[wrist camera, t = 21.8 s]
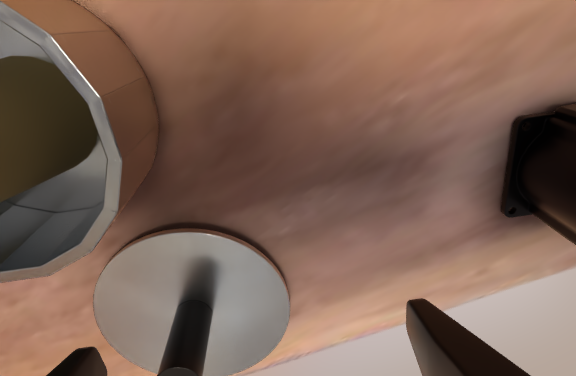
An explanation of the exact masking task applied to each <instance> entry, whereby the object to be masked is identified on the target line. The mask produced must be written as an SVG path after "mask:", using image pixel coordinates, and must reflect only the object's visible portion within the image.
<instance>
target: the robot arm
mask: <svg viewBox="0 0 576 376" xmlns="http://www.w3.org/2000/svg"><path fill="white" fill-rule="evenodd" d="M524 123H526V125H525V127H524V128H522V125H523V124H524ZM510 208H512V209H511V210H510V211H509V209H510ZM501 212H502V213H503V214H504V215H505V216H507V217H518V216H525V215H532V214H533V215H534V216H536V217H537V218H539V219H540V220H541V221H543V222H544V223H546V224H547V225H548V226H550V227H551V228H553V229H554V230H555V231H557V232H558V233H560V234H561V235H562V236H564V237H565V238H567V239H568V240H569V241H571V242H572V243H574V244H575V245H576V104H572V105H565V106H560V107H558V108H557V109H555V112H548V113H541V114H534V115H527V116H522V117H519V118H518V119H516V121H515V122H514V125H513V130H512V137H511V144H510V150H509V157H508V164H507V171H506V177H505V184H504V191H503V198H502V204H501ZM406 327H407V332H408V336H409V339H410V341H411V344H412V347H413V350H414V353H415V356H416V359H417V362H418V365H419V367H420V370H421V373H422V376H530V375H529V374H528V373H526V372H525V371H524V370H522V369H521V368H519V367H518V366H516V365H515V364H514V363H513V362H511V361H510V360H508V359H507V358H506V357H504V356H503V355H502V354H500V353H499V352H497V351H496V350H495V349H493V348H492V347H491V346H489V345H488V344H486V343H485V342H484V341H482V340H481V339H479V338H478V337H477V336H475V335H474V334H473V333H471V332H470V331H468V330H467V329H466V328H464V327H463V326H461V325H460V324H459V323H458V322H456V321H455V320H453V319H452V318H451V317H449V316H448V315H446V314H445V313H444V312H442V311H441V310H440V309H438V308H437V307H435V306H434V305H433V304H431V303H430V302H429V301H427V300H426V299H423V298H421V299H414V300H409V301H408V302H407V307H406ZM46 376H107V369H106V366H105V364H104V362H103V360H102V358H101V356H100V354H99V352H98V350H97V349H96V348H95V347H85V348H79V349H76V350H75V351H73V352H72V353H71V354H70V355H69V356H68V357H67V358H65V359H64V360H63V361H62V362H61V363H60V364H59V365H58V366H57V367H55V368H54V369H53V370H52V371H51V372H50V373H49V374H48V375H46Z"/></svg>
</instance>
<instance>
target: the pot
mask: <svg viewBox="0 0 576 376" xmlns="http://www.w3.org/2000/svg"><path fill="white" fill-rule="evenodd" d="M8 56H32V57H35V58H38V59H41V60H44V61H46V62H49V63H52V64H54V65H56V67H57V68H58V69H59V70H60V71H61V73H62V74H63V75H64V76H65V78H66V79H67V80H68V81H69V82H70V84H71V85H72V86H73V87H74V88H75V90H76V91H77V92H78V93H79V94H80V96H81V97H82V98H83V99H84V101H85V102H86V103H87V105H88V108H89V111H90V114H91V116H92V119H93V122H94V125H95V127H96V130H97V133H98V135H97V141H96V145H95V147H94V148H93V150H92V152H91V153H90V155H89V156H88V158H87V159H85V160H84V161H83V162H81V163H80V164H78V165H77V166H76V167H74V168H72V169H70V170H68V171H66V172H63V173H61V174H59V175H57V176H55V177H53V178H51V179H49V180H47V181H44V182H42V183H40V184H38V185H36V186H34V187H32V188H30V189H28V190H25V191H23V192H21V193H19V194H17V195H15V196H13V197H11V198H9V199H6V200H4V201H2V202H0V283H3V282H10V281H17V280H24V279H31V278H38V277H45V276H50V275H52V274H54V273H55V272H57V271H59V270H61V269H62V268H64V267H66V266H68V265H69V264H71V263H73V262H75V261H77V260H78V259H80V258H82V257H84V256H85V255H87V254H89V253H91V252H92V251H93V249H94V248H95V247H96V245H97V244H98V243H99V241H100V240H101V239H102V237H103V236H104V234H105V233H106V232H107V230H108V229H109V228H110V226H111V225H112V224H113V222H114V221H115V219H116V218H117V217H118V215H119V214H120V213H121V211H122V210H123V208H124V207H125V206H126V204H127V203H128V202H129V200H130V199H131V198H132V196H133V195H134V193H135V192H136V190H137V189H138V187H139V186H140V184H141V183H142V181H143V180H144V178H145V177H146V175H147V174H148V172H149V171H150V169H151V168H152V165H153V162H154V158H155V155H156V150H157V145H158V136H159V123H158V112H157V108H156V103H155V98H154V96H153V93H152V90H151V87H150V84H149V82H148V80H147V78H146V76H145V74H144V72H143V70H142V68H141V66H140V65H139V63H138V61H137V60H136V58H135V57H134V55H133V54H132V52H131V51H130V50H129V49H128V47H127V46H126V45H125V44H124V42H123V41H122V40H121V39H120V38H119V37H118V36H117V35H116V34H115V33H114V32H113V31H112V30H111V29H110V28H109V27H108V26H107V25H106V24H105V23H104V22H102V21H101V20H100V19H99V18H97V17H96V16H95V15H94V14H92V13H91V12H90V11H88V10H86V9H85V8H83V7H82V6H80V5H79V4H77V3H75V2H74V1H72V0H0V59H1V58H5V57H8Z"/></svg>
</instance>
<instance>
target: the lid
mask: <svg viewBox="0 0 576 376" xmlns="http://www.w3.org/2000/svg"><path fill="white" fill-rule="evenodd" d="M93 308H94V315H95V319H96V322H97V325H98V327H99V329H100V331H101V333H102V335H103V336H104V337H105V339H106V340H107V342H108V343H109V344H110V345H111V346H112V347H113V348H114V349H115V350H116V351H117V352H118V353H119V354H120V355H122V356H123V357H124V358H126V359H127V360H129V361H130V362H132V363H133V364H135V365H137V366H139V367H141V368H143V369H145V370H148V371H150V372H153V373H156V374H158V375H157V376H229V375H232V374H235V373H238V372H241V371H243V370H245V369H247V368H249V367H252V366H253V365H255V364H256V363H258V362H260V361H261V360H262V359H264V358H265V357H266V356H267V355H269V354H270V353H271V352H272V351H273V349H274V348H275V347H276V346H277V345H278V343H279V342H280V341H281V339H282V337H283V335H284V333H285V331H286V328H287V325H288V322H289V316H290V300H289V294H288V289H287V287H286V284H285V281H284V279H283V277H282V276H281V274H280V272H279V270H278V269H277V268H276V267H275V265H274V264H273V263H272V262H271V261H270V260H269V259H268V258H267V257H266V256H265V255H264V254H263V253H262V252H260V251H259V250H258V249H256V248H255V247H253V246H252V245H250V244H248V243H246V242H244V241H243V240H240V239H238V238H236V237H233V236H231V235H228V234H224V233H221V232H217V231H212V230H206V229H194V228H183V229H171V230H165V231H160V232H157V233H153V234H150V235H147V236H145V237H142V238H140V239H138V240H135V241H134V242H132V243H130V244H129V245H127V246H125V247H124V248H123V249H122V250H120V251H119V252H118V253H117V254H116V255H115V256H114V257H113V258H112V259H111V260H110V261H109V262H108V264H107V265H106V267H105V268H104V270H103V271H102V273H101V274H100V276H99V279H98V281H97V283H96V286H95V291H94V295H93Z"/></svg>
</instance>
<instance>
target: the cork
mask: <svg viewBox="0 0 576 376" xmlns="http://www.w3.org/2000/svg"><path fill="white" fill-rule="evenodd" d="M97 135H98V133H97V130H96V127H95V125H94V122H93V119H92V116H91V114H90V111H89V108H88V105H87V103H86V102H85V101H84V99H83V98H82V97H81V96H80V94H79V93H78V92H77V91H76V90H75V88H74V87H73V86H72V85H71V84H70V82H69V81H68V80H67V79H66V78H65V76H64V75H63V74H62V73H61V71H60V70H59V69H58V68H57V67H56V65H54V64H52V63H49V62H46V61H44V60H41V59H38V58H35V57H32V56H8V57H5V58H1V59H0V202H2V201H4V200H6V199H9V198H11V197H13V196H15V195H17V194H19V193H21V192H23V191H25V190H28V189H30V188H32V187H34V186H36V185H38V184H40V183H42V182H44V181H47V180H49V179H51V178H53V177H55V176H57V175H59V174H61V173H63V172H66V171H68V170H70V169H72V168H74V167H76V166H77V165H78V164H80V163H81V162H83V161H84V160H85V159H87V158H88V156H89V155H90V153H91V152H92V150H93V148H94V147H95V145H96V141H97Z"/></svg>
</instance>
